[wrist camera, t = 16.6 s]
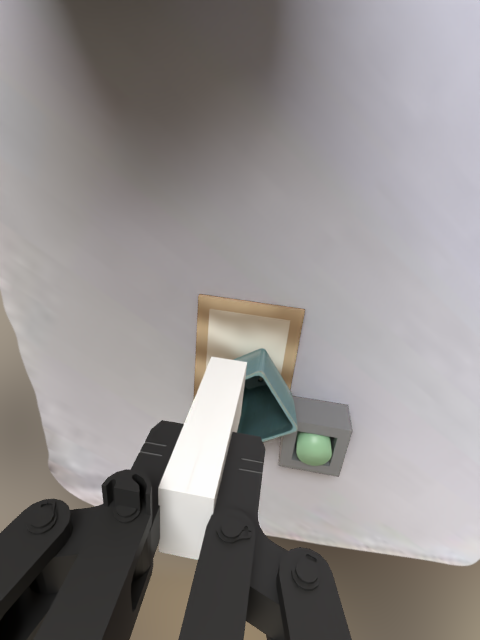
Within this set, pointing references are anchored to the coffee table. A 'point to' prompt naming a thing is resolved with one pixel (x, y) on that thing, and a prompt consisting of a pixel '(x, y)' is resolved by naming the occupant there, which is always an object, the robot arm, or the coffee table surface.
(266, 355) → the flower pot
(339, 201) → the coffee table surface
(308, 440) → the button
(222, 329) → the board
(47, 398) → the coffee table surface
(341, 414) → the button box
